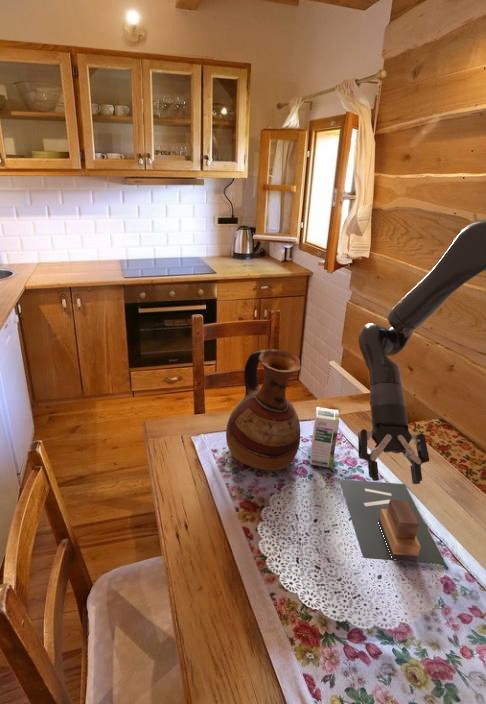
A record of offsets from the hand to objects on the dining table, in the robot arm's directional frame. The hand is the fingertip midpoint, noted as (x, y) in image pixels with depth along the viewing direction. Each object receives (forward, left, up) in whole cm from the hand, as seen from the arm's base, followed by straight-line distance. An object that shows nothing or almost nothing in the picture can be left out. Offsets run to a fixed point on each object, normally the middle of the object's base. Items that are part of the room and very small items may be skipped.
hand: (396, 482), depth 86 cm
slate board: (0, -1, -11) cm, 11 cm away
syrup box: (+11, -20, -11) cm, 25 cm away
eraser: (0, +6, -10) cm, 12 cm away
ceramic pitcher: (+27, -21, -11) cm, 36 cm away
